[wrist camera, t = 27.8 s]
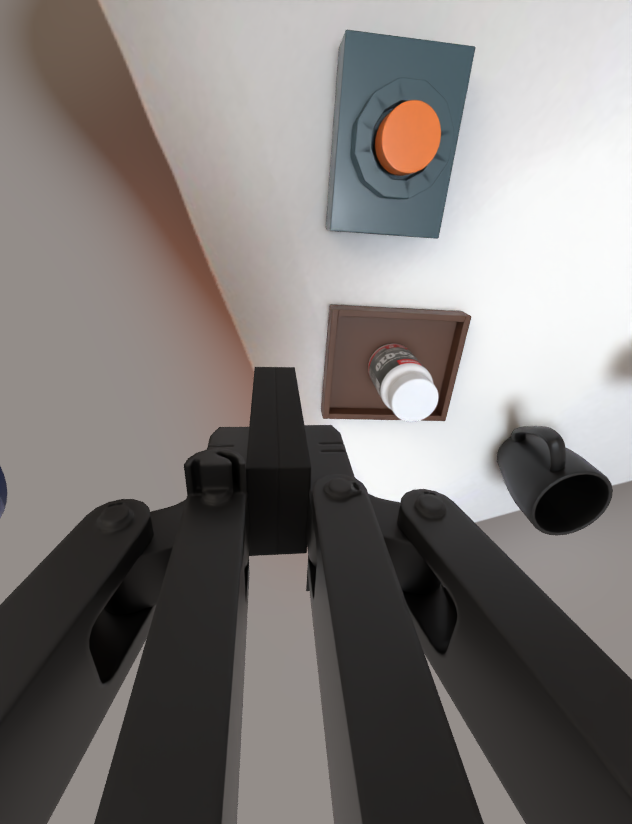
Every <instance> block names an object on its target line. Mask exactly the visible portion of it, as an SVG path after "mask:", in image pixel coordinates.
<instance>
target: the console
mask: <svg viewBox="0 0 632 824" xmlns="http://www.w3.org/2000/svg"><path fill="white" fill-rule="evenodd" d="M474 52H475V47H474V46H467V45H459V44H452V43H444V42H437V41H429V40H421V39H414V38H406V37H398V36H391V35H383V34H376V33H368V32H360V31H353V30H346V31H345V34H344V36H343V39H342V42H341V44H340V47H339V55H338V69H337V83H336V96H335V110H334V124H333V138H332V151H331V165H330V179H329V192H328V206H327V220H326V229H328V230H330V231H342V232H356V233H369V234H383V235H397V236H410V237H424V238H439V233H440V227H441V222H442V217H443V212H444V207H445V202H446V196H447V191H448V186H449V181H450V176H451V171H452V165H453V160H454V155H455V150H456V145H457V140H458V134H459V129H460V124H461V119H462V114H463V109H464V104H465V98H466V93H467V88H468V83H469V78H470V73H471V67H472V62H473V57H474ZM409 100H419V101H423V102H425V103H427V104H428V105H429V106H431V107H432V108H433V110H434V111H435V113H436V114H437V116H438V119H439V122H440V126H441V139H440V144H439V148H438V150H437V153H436V155H435V156H434V158H433V159H432V161H431V162H430V163H429V164H428V165H427V166H426V167H425V168H423V169H422V170H420V171H418V172H414V173H411V174H407V175H402V176H398V175H394V174H391V173H389V172H388V171H386V170H385V169H384V168H383V167H382V165H381V164H380V162H379V160H378V158H377V155H376V150H375V139H376V134H377V130H378V128H379V126H380V124H381V122H382V121H383V119H384V118H385V117H386V116H387V115H388V114H389V113H390V112H391V111H392V110H393V109H395V108H396V107H397V106H398V105H400V104H401V103H403V102H406V101H409Z"/></svg>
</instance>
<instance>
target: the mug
mask: <svg viewBox="0 0 632 824" xmlns="http://www.w3.org/2000/svg"><path fill="white" fill-rule="evenodd" d="M497 462H498V465H499V467H500V470H501V473H502V476H503V479H504V481H505V484H506V486H507V489H508V491H509V492H510V494H511V496H512V498H513V500H514V501H515V503H516V504H517V506H518V507H519V508H520V509H521V511H522V512H523V513H524V514H525V515H526V517H527V518H528V519H529V521H530V522H531V523H532V524H533V525H534V527H535V528H536V529H538V530H539V531H541V532H543V533H545V534H549V535H566V534H569V533H574V532H576V531H579V530H581V529H583V528H585V527H587V526H588V525H590V524H591V523H593V522H594V521H595V520H597V519H598V518H599V517H600V516H601V515H602V514H603V513H604V511H605V510H606V508H607V507H608V505H609V503H610V501H611V498H612V492H613V490H612V485H611V483H610V481H609V480H608V478H607V477H606V476H605V475H604V474H602V473H601V472H600V471H599V470H597V469H596V468H595V467H594V466H592V465H591V464H590V463H589V462H587V461H586V460H585V459H583V458H582V457H581V456H579V455H578V454H576V453H575V452H573V451H571V450H569V449H567V448H566V447H565V444H564V441H563V439H562V437H561V436H560V435H559V434H558V433H557V432H556V431H555V430H553V429H551V428H549V427H543V426H524V427H519V428H516V429H515V430H513V432H512V437H510V438H509V439H507V440H506V441H505V442H504V443H503V444H502V445H501V447H500V448H499V450H498V453H497Z"/></svg>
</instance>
